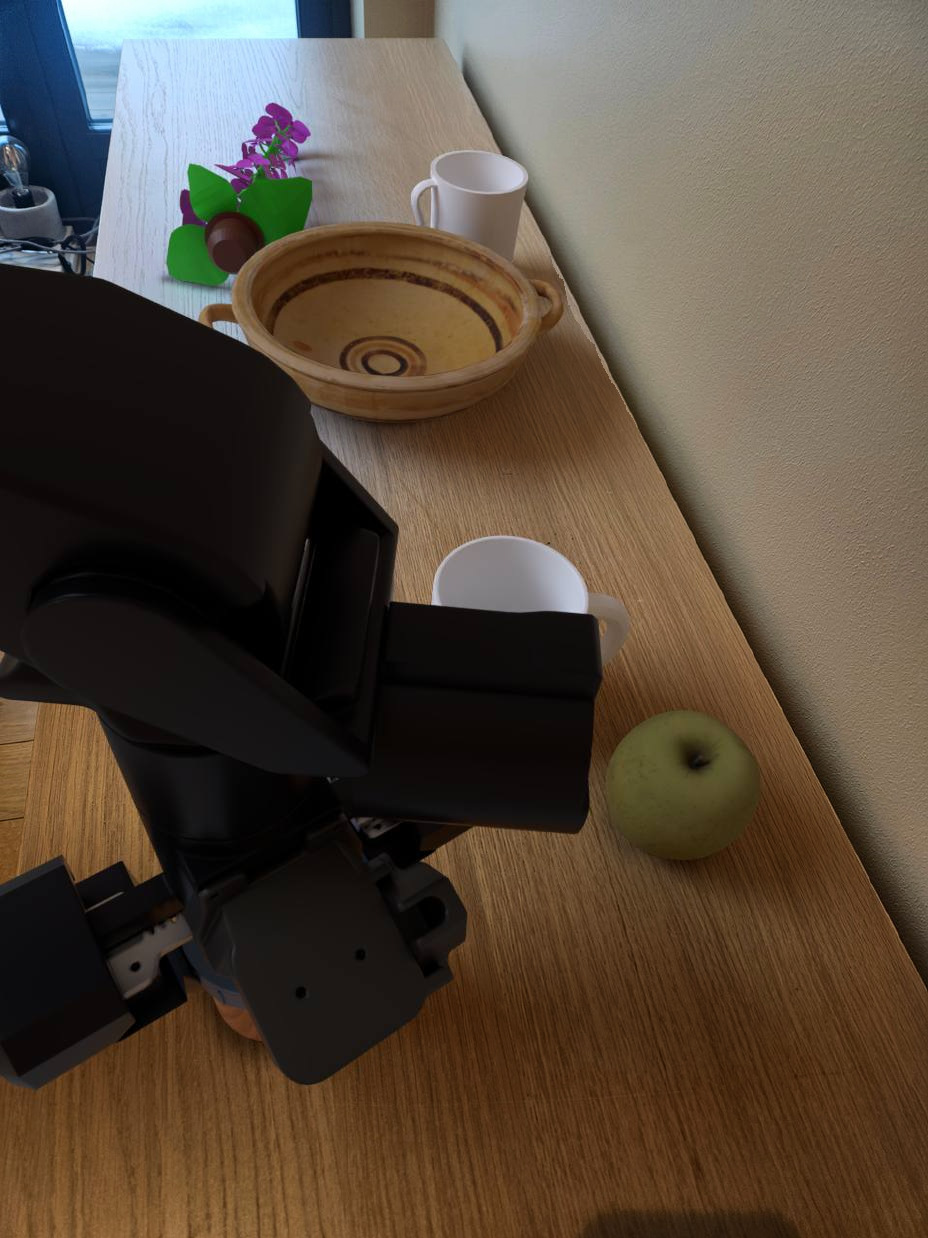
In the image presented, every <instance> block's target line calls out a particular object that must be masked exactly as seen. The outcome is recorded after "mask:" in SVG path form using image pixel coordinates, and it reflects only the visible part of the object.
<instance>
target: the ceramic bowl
mask: <svg viewBox="0 0 928 1238" xmlns="http://www.w3.org/2000/svg"><path fill="white" fill-rule="evenodd" d="M540 297H542V298H545V299H547V300H548V301H549V302H550V304H551V306H550V309H549V310H548V312H547V313H545V314H544V313H543V312H544V311H543V307H542V302H541V298H540ZM230 302H231V303H221V302H219V303H217V302H216V303H211V304H208V305H206V306H205V307H203V308H202V309H201V311H200V313H199V314H198V318H197V322H200V323H202V324H204V325H206V326H208V327H211V328H213V329H215V328H214V325H213V323H216V322H227V323H232V324H235V325H238V326H239V328H240V329H241V331H242V333H243V336H244V337H245V340H246V342H247V345H248V346H250V347H252V348H254V349H256V350H258V351H259V352H261V353H263V354H264V355H266V356H267V357H269V358H270V359H271V360H272V361H273V362H274V363H276V364H277V365H278V366H279V367H280V368H282V369H283V370H284V371H285V372H286V373H287V374H289V375H290V376H291V377H292V378H293V379H294V380H295V381H296V383H297V384H298V385H299V387H300V388H301V389H302V391H303V392H304V393H305V394H306V396H307V397H308V398H309V400H310V402H311V405H312V406H315V407H317V408H319V409H322V410H324V411H326V412H329V413H333V414H336V415H339V416H343V417H347V418H351V419H357V420H361V421H362V420H363V421H369V422H374V423H393V424H394V423H396V424H398V423H399V424H401V423H402V424H403V423H416V422H426V421H430V420H437V419H442V418H446V417H449V416H452V415H456V414H458V413H462V412H464V411H466V410H468V409H470V408H472V407H473V406H477V405H478V404H480V403H482V402H484V401H486V400H487V399H488V398H490V397H492V396H493V395H494V394H495V393H498V391H500V390H501V389H503V388H504V387H505V385H507V383H508V382H509V381H510V380H511V379H512V378H513V376H515V374H517V372H518V370H519V369H520V368H521V366H522V364H523V362H524V360H525V358H526V357H527V355H528V353H529V351H530V349H531V347H532V346H533V344H534V343H535V341H536V340H538V339H539V338H542V337H543V336H545V335H546V334H547V333H548V332H550V331H552V329H553V328H555V327H556V325H558V323H559V322H560V320H561V319H562V317H563V315H564V309H565V306H564V301H563V297H562V294H561V292H560V291H559V290H558V289H557V288H556V287H554V286H553V285H552V284H551V283H549V282H547V281H545V280H541V279H529V278H528V277H527V275H525V273H524V272H523V271H522V270H521V269H520V268H519V267H518V266H516V265H515V264H514V263H513V262H512V263H511V262H510V261H509V260H508V259H506V258H505V257H503V256H501V255H500V254H498V253H496V252H495V251H493V250H492V249H490V248H488V247H486V246H483V245H481V244H479V243H477V242H475V241H473V240H470V239H467V238H464V237H462V236H459V235H456V234H453V233H450V232H446V231H442V230H438V229H434V228H430V226H427V227H425V226H418V225H417V224H410V223H405V222H393V221H377V220H376V221H349V222H338V223H330V224H324V225H320V226H315V227H310V228H306V229H304V230H303V231H300V232H296V233H293V234H290V235H287V236H285V237H283V238H281V239H279V240H276V241H274V242H272V243H270V244H269V245H267V246H266V247H264V248H263V249H261V250H259V251H258V252H256V253H255V254H254V255H253V256H252V257H251V258H250V259H249V260H248V261H247V262H246V263H245V264H244V265H243V266H242V268H241V269H240V271H239V273H238V274H237V275H235V277H234V279H233V283H232V287H231V292H230Z"/></svg>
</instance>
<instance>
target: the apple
mask: <svg viewBox="0 0 928 1238" xmlns="http://www.w3.org/2000/svg"><path fill="white" fill-rule="evenodd" d="M761 786H762V780H761V771H760V768H759V766H758V762H757V759H756V758H755V756H754V754H753V753H752V751H751V749H750V748H749V746H748V745H747V744H746V742H745V741H744V740H743V738H741V737H740V735H739V734H737V733H736V732H735V731H734V730H733V729H732V728H731V727H729V726H728V725H727V724H725V723H724V722H723V721H721V720H720V719H718V718H716V717H714V716H712V715H710V714H708V713H705V712H702V711H697V710H690V709H679V710H678V709H675V710H669V711H665V712H661V713H658V714H655V715H653V716H651V717H649V718H647V719H645V720H643V721H642V722H640V723H639V724H637V725H636V726H634V728H632V729H631V730H629V732H628V733H627V734H626V735H625V736H624V737H623V738H622V740H620V742H619V743H618V744H617V747H616V748H615V750H614V752H613V754H612V756H611V758H610V761H609V764H608V767H607V770H606V776H605V786H604V787H605V788H604V789H605V799H606V802H607V807H608V810H609V814H610V816H611V818H612V820H613V822H614V824H615V825H616V827H617V829H618V830H619V832H620V833H621V834H622V835H623V836H624V838H625V839H626V840H627V841H629V842H630V843H631V844H632V845H633V846H634V847H635V848H637V849H639V850H640V851H642V852H644V853H647V854H649V855H651V856H653V857H657V858H661V859H668V860H677V861H691V860H698V859H702V858H703V859H704V858H705V857H706V858H707V857H709V856H712V855H714V854H716V853H718V852H720V851H722V850H724V849H725V848H727V847H728V846H730V845H731V844H732V843H734V841H736V840H737V839H738V838H739V837H740V836H741V835H742V834H743V833H744V831H746V828H747V827H748V826H749V824H750V822H751V821H752V819H753V817H754V815H755V813H756V811H757V808H758V805H759V802H760V801H759V800H760V797H761V791H762V789H761V788H762V787H761Z"/></svg>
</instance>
